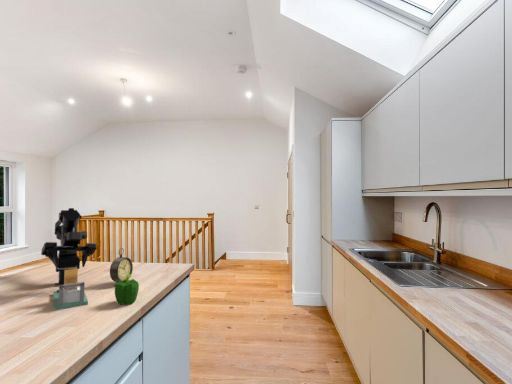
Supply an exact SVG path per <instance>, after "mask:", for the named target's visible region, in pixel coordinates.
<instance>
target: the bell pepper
mask: <svg viewBox="0 0 512 384" xmlns="http://www.w3.org/2000/svg"><path fill="white" fill-rule="evenodd" d="M129 277H130V278H131V277H132V274H131V275H130V274H129V275H128V276H127V278H126V279H125V280H123V281H121V282H115V284H114V296H115V300H116V303H117V305H131V304H134V303H135V302H136V300H137V297H138V295H139V290H140V289H139V288H140V284H139V282H138V281H137V280H135V279H134V278H131V279H130V278H129Z"/></svg>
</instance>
